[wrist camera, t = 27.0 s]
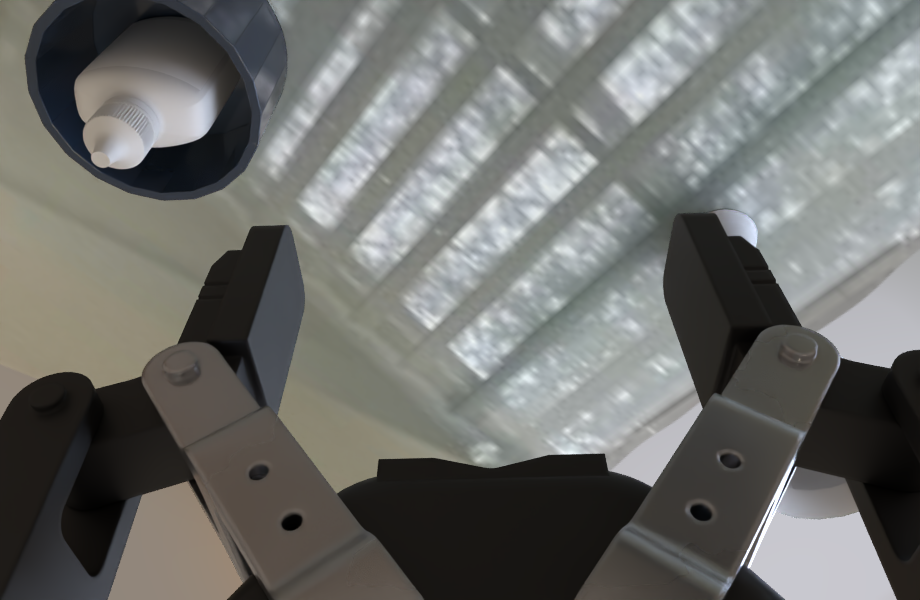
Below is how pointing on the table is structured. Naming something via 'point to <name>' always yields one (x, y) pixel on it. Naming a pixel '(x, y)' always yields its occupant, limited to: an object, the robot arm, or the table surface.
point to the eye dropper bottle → (152, 90)
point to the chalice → (806, 488)
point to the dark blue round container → (176, 167)
